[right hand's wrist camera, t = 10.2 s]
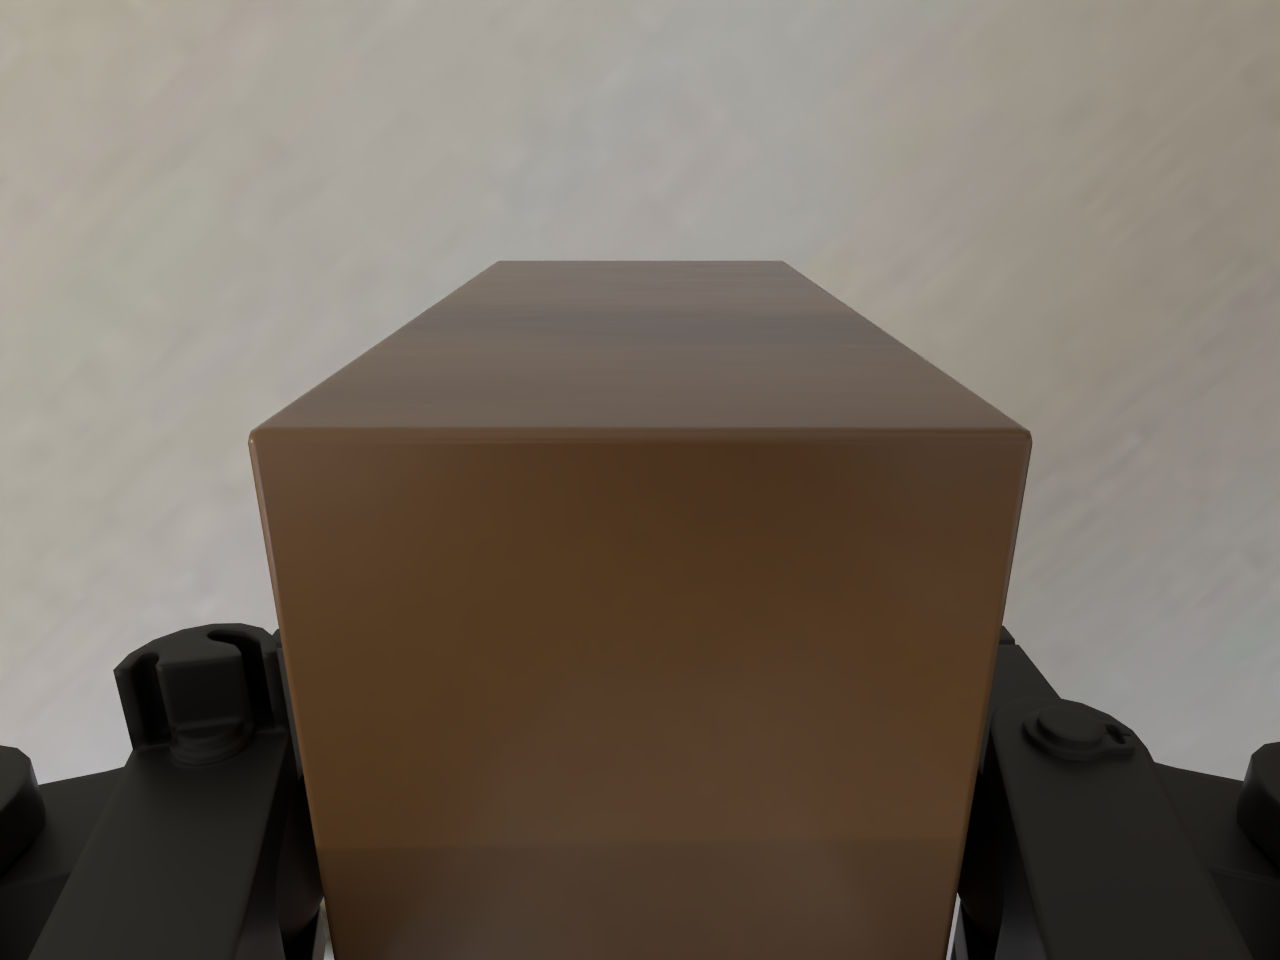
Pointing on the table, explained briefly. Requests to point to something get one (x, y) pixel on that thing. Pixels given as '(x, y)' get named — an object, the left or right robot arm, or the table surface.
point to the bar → (640, 620)
